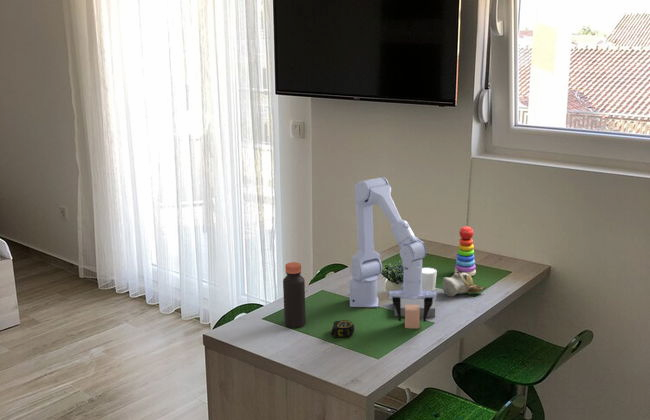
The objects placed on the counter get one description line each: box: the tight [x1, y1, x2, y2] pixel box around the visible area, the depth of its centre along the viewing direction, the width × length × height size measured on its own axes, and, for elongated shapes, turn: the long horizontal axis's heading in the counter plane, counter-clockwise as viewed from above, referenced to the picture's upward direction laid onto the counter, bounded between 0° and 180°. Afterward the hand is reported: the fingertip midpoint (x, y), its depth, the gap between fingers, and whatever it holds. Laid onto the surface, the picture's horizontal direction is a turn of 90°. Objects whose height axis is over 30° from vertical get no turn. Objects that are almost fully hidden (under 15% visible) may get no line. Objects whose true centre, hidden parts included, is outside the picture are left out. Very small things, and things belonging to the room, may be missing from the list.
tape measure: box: [330, 319, 355, 338], centre depth 212 cm, size 7×7×4 cm
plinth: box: [394, 299, 436, 318], centre depth 229 cm, size 13×11×3 cm
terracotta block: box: [404, 305, 421, 329], centre depth 218 cm, size 4×4×6 cm
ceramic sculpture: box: [442, 271, 487, 297], centre depth 242 cm, size 11×9×15 cm
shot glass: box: [422, 267, 438, 292], centre depth 247 cm, size 7×7×7 cm
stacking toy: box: [454, 225, 477, 277], centre depth 259 cm, size 8×8×19 cm
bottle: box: [282, 261, 307, 329], centre depth 218 cm, size 7×7×20 cm
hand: (412, 319), depth 218 cm, fingers open, 7 cm apart
